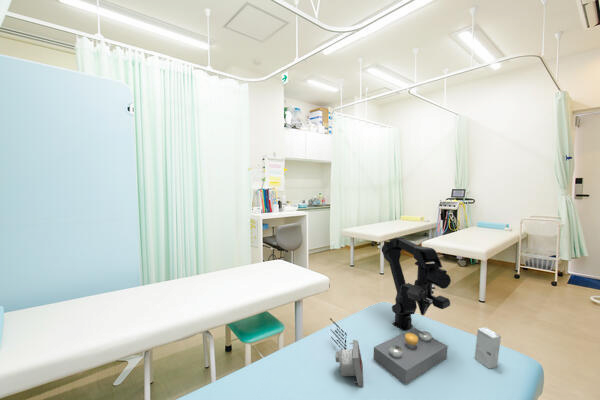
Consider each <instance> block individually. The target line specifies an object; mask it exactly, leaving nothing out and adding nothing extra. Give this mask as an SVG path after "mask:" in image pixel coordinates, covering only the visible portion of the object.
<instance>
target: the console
mask: <svg viewBox="0 0 600 400" xmlns="http://www.w3.org/2000/svg"><path fill="white" fill-rule="evenodd" d="M420 331H421V330H420V329H418V328H416V327H413V328H410V329H408V330H405V332H403V333H400V334H398V335H396V336H394V337H391V338H390V339H388V340H386V341H383V342H381V343H379V344H377V345H375V346H374V347H373V361H374V362H376V363H377V364H378V365H380V366H381V367H382V368H384V369H385V370H386V371H387V372H389V373H390V374H391V375H392V376H394V377H395V378H396V379H398V380H399V381H400V382H401V383H402V384H404V385H407V384H409V383H411V382H412V381H414V380H416V379H417V378H418V377H420V376H422V375H423V374H424V373H426V372H428V371H429V370H431V369H432V368H434V367H436V366H437V365H438V364H440V363H442V362H443V361H445V360H446V359H447V358H448V345H447V344H445V343H444V342H442V341H439V340H438V339H436V338H434V337H432V336H431V342H424V341H421V340H420V339H419V332H420ZM406 333H413V334H415V335H416V336H417V337H418V344H417V345H416V348H415V349H414V350H411V349H409V348H408V347H406V341H405V334H406ZM392 345H396V346H399V347H400V348H401V349H402V358H400V359H396V358H393V357H391V356H390V354H389V347H390V346H392Z"/></svg>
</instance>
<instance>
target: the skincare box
mask: <svg viewBox="0 0 600 400" xmlns="http://www.w3.org/2000/svg"><path fill="white" fill-rule="evenodd" d="M501 339H502V336H501V335H499V333H498V334H497V333H496V332H495V331H493V330H491V329H489V328H488V327H487V326H484V327H480V328H478V329H477V333H476V342H475V343H476V344H475V348H474V349H475V351H474V359H475V360H476V361H477V362H479V363H480V364H482V365H483V366H484V367H486V368H488V369H493V368H497V367H498V362H499V353H500V346H501Z"/></svg>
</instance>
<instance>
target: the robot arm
mask: <svg viewBox="0 0 600 400" xmlns="http://www.w3.org/2000/svg"><path fill="white" fill-rule="evenodd" d="M402 251H405V252H406V253H408V254H411V255H412V256H413V259H415V262H414V265H415V266H417V275H416V276H417V277H416V279H415V280H414V284H412V283H410V282H406V280H405V276H404V272H403V269H402V265H401V262H400V260H401V255H402V253H401V252H402ZM381 252H382V254H383V258H384V259H385V260H386V261H387V263H388V265H389V267H390V271H391V274H392V279H393V283H394V287H395V290H396V296H395V299H394V301H395V304H393V305H392V306H391V309H392V312H393V314H394V321H393V322H392V325H394V326H395V327H398V328H399V329H401V330H402V331H408V330H410V329H412V327H413V325H412V320H413V319H412V315H415V314H416V313H415V312H416V310H417V308H418V310H419V313H420V315H422V316H425V314H426V313H427V311H428V310H429V308H430V306H431V305H433V306H434V307H435V308H437V309H440V310H444V309H446V308H448V307H450V306H451V301H450V299H449V298H447V297H444V296H443V295H438V296H435V295H434V294H435V293H434V292H435V291H434V290H433V285H434V286H436V287H438V288H439V289H447V288H448V287H449V286H450V285H451V283H452V282H451V281H452V280H451V277H450V275H449V274H447V270H446V269H442V268H443V265H442V262H441V260H440V257H439V255H438V253H437V252H436V250H435V248H433V247H429V246H428V247H427V246H420V245H418V244H416V243H413V242H412V241H409V240H407V239H405V238H404V237H394V238H392V240H390V241H388V242H386V243H384V244H383V245H382V246H381ZM413 328H414V327H413Z"/></svg>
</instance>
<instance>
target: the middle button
mask: <svg viewBox="0 0 600 400" xmlns="http://www.w3.org/2000/svg"><path fill="white" fill-rule="evenodd" d="M405 341H406V347H408V348H409V349H411V350H414V349H415V348H416V345H417V344H418V337H417V336H416V335H415V334H413V333H406V334H405Z"/></svg>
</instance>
